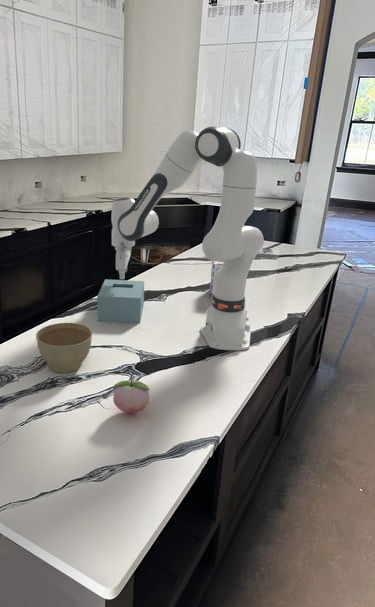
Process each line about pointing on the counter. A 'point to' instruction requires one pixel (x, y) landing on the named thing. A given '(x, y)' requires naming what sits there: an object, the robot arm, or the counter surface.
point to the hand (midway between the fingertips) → (123, 275)
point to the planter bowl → (64, 345)
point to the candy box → (215, 268)
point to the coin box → (121, 301)
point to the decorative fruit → (131, 396)
